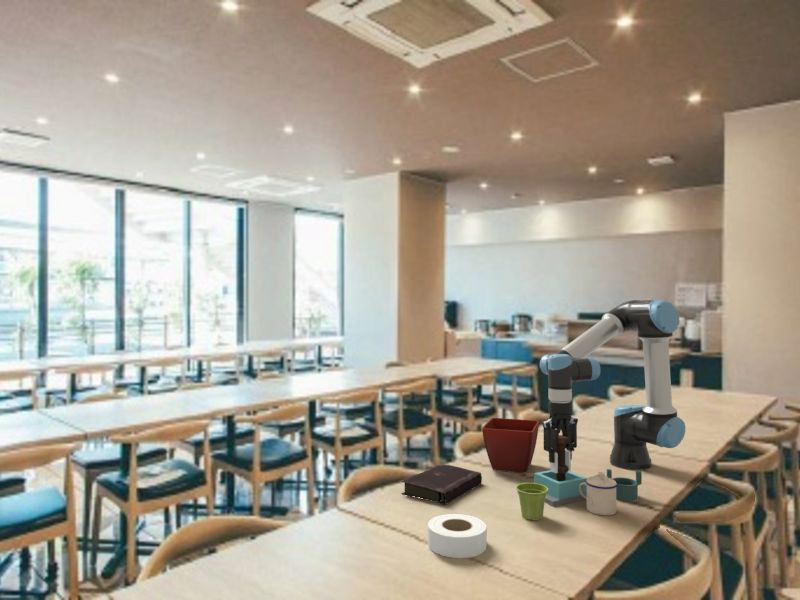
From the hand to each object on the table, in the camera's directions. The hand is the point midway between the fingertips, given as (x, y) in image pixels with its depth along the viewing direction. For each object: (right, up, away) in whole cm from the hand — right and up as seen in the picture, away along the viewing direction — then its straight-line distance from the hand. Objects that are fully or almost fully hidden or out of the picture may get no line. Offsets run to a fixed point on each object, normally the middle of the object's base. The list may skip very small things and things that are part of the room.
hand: (560, 470), depth 183 cm
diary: (-39, -9, +7) cm, 41 cm away
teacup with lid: (+8, -8, -12) cm, 17 cm away
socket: (0, -8, 0) cm, 8 cm away
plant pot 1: (-10, -8, +31) cm, 33 cm away
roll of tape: (-38, -9, -36) cm, 53 cm away
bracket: (+21, -8, -1) cm, 22 cm away
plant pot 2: (-14, -9, -18) cm, 24 cm away
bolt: (0, -4, 0) cm, 4 cm away
